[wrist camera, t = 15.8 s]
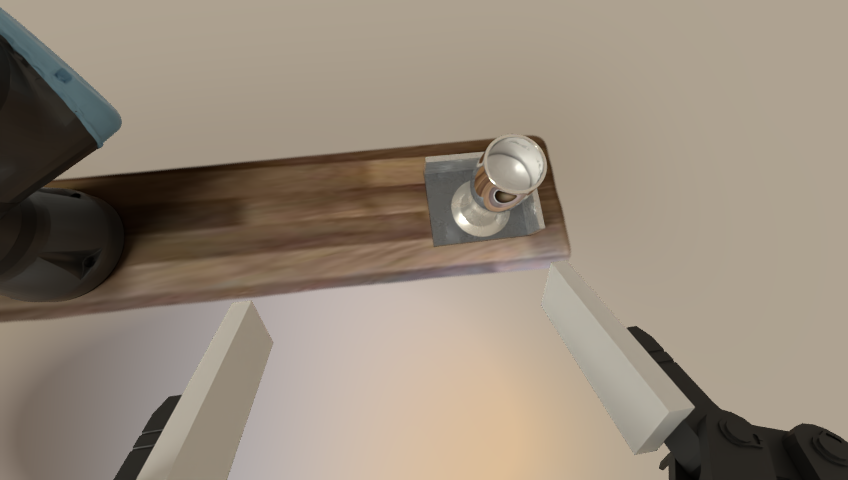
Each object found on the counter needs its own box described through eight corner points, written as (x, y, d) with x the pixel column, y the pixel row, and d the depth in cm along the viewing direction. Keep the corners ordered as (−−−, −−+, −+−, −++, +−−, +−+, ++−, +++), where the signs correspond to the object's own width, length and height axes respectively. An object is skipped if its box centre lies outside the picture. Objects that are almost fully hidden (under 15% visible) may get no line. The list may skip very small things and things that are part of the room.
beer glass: (487, 239, 44) (528, 208, 29) (448, 213, 45) (468, 170, 30) (511, 202, 46) (561, 155, 31) (472, 177, 46) (504, 119, 31)
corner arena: (433, 246, 44) (437, 240, 40) (423, 171, 47) (425, 157, 42) (530, 235, 46) (545, 228, 41) (516, 162, 48) (528, 147, 43)
